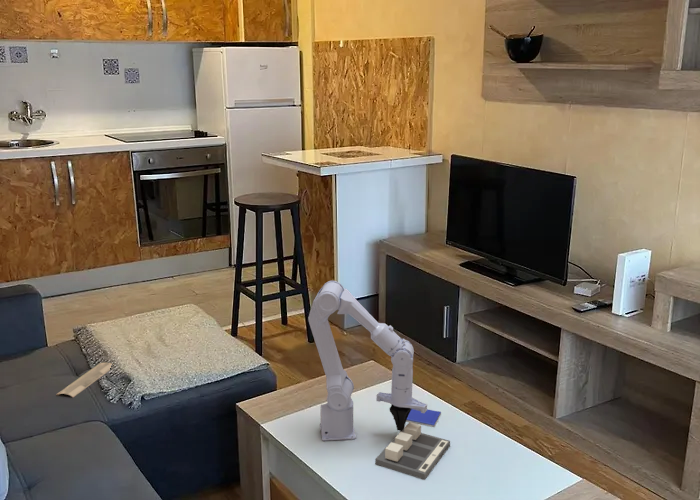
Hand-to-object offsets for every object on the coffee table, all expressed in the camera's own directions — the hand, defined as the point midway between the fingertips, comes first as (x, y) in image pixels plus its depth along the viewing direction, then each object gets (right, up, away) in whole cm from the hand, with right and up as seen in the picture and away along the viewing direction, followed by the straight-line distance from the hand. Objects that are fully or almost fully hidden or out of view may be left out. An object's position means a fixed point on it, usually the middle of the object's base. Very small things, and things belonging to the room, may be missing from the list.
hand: (400, 429), depth 190 cm
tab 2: (0, -3, -7) cm, 7 cm away
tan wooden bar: (-100, +6, +34) cm, 106 cm away
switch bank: (+3, -5, -7) cm, 9 cm away
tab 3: (+3, -1, -1) cm, 4 cm away
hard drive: (+6, 0, +12) cm, 14 cm away
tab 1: (-3, -4, -12) cm, 13 cm away
